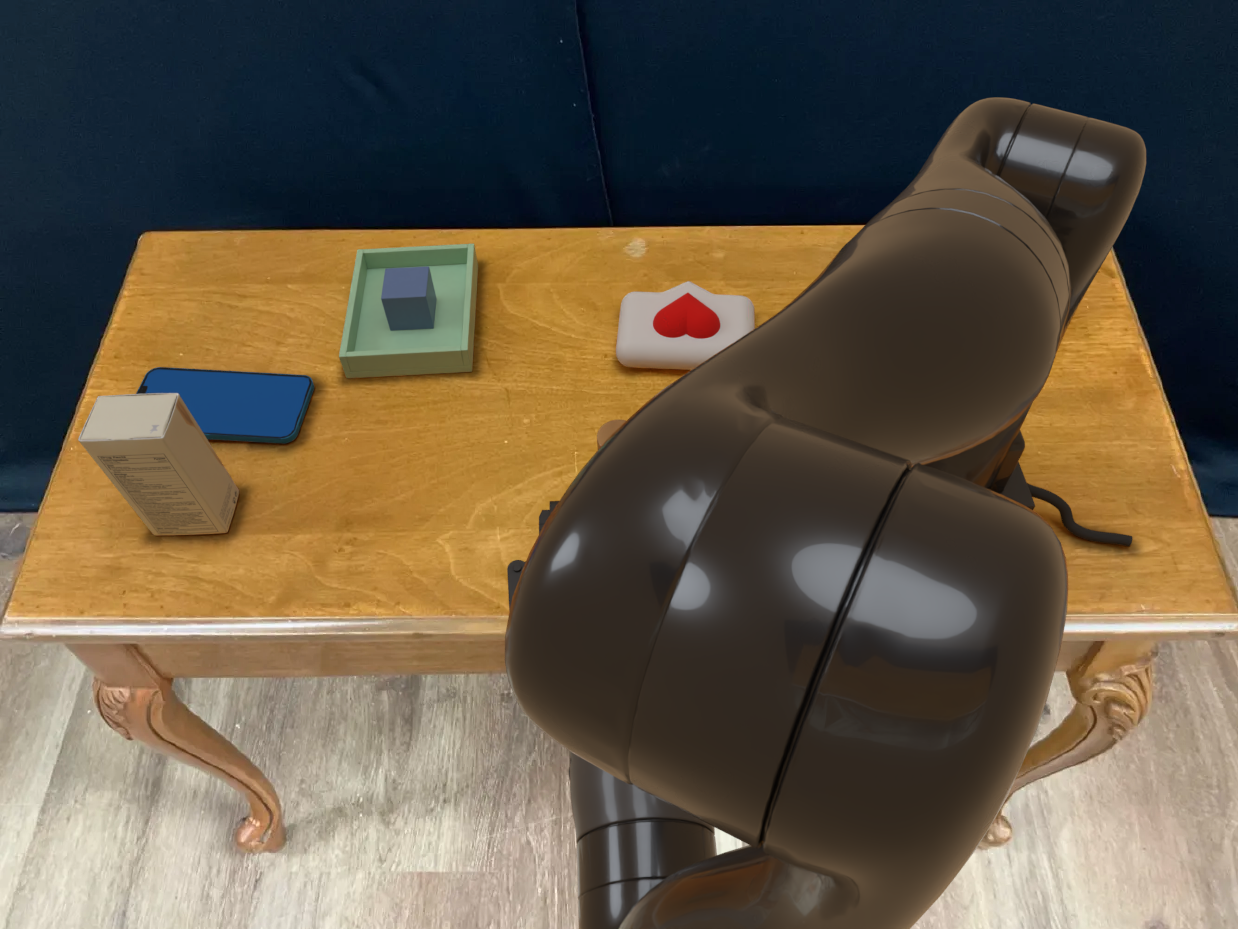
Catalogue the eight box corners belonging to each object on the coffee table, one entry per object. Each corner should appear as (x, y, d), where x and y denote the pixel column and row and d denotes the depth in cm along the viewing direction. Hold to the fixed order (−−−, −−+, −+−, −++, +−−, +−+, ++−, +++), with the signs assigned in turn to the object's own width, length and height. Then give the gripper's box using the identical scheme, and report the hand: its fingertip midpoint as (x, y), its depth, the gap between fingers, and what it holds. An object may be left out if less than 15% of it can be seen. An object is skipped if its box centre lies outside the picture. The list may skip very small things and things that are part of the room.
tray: (478, 265, 95) (474, 243, 93) (472, 372, 86) (467, 350, 84) (364, 271, 95) (357, 249, 93) (346, 378, 86) (338, 356, 84)
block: (436, 298, 91) (429, 265, 88) (433, 328, 89) (426, 296, 85) (394, 300, 91) (385, 268, 88) (390, 331, 89) (380, 298, 85)
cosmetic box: (241, 490, 79) (184, 390, 69) (228, 535, 76) (167, 438, 67) (163, 492, 79) (95, 392, 69) (148, 536, 76) (75, 439, 67)
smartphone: (292, 439, 81) (117, 429, 82) (295, 447, 82) (122, 437, 82) (315, 374, 85) (149, 365, 86) (318, 382, 86) (153, 373, 87)
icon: (756, 265, 88) (757, 344, 82) (752, 300, 91) (753, 379, 85) (622, 260, 88) (613, 338, 82) (623, 295, 92) (615, 373, 86)
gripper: (780, 717, 49) (739, 461, 58) (497, 734, 48) (503, 475, 58) (766, 770, 55) (730, 530, 64) (513, 785, 54) (517, 542, 64)
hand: (623, 504), depth 61 cm, fingers open, 8 cm apart
